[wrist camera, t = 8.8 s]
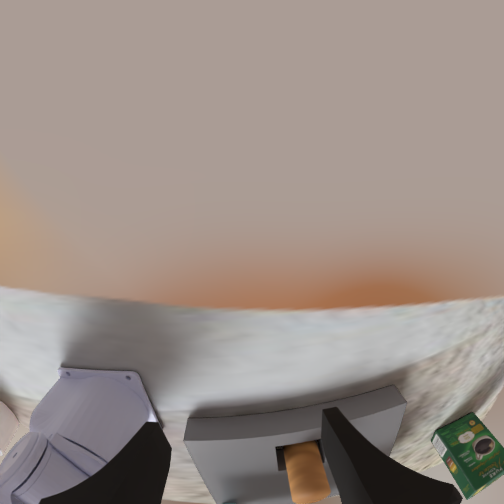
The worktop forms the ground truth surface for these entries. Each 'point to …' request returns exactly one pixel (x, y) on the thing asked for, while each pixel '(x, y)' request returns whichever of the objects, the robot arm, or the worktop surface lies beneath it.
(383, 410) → the socket stand
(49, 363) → the worktop surface
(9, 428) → the white cube
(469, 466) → the coffee box
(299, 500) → the peg
